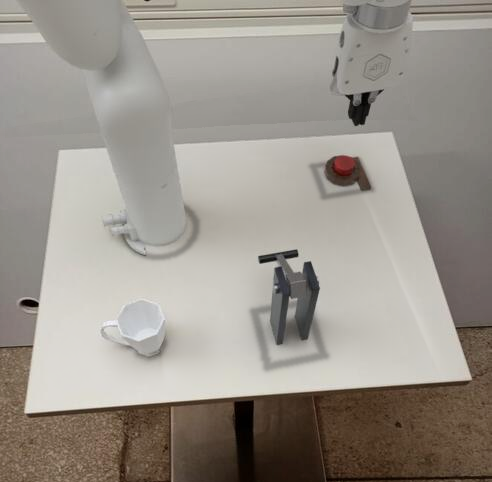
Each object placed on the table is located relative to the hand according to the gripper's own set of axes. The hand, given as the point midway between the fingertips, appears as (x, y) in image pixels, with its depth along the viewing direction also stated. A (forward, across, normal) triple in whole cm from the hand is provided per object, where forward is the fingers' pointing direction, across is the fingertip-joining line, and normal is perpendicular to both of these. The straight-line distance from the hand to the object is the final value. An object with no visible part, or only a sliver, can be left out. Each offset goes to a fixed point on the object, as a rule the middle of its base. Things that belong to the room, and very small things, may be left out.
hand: (356, 119), depth 83 cm
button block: (+13, -1, 0) cm, 13 cm away
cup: (+12, -42, -27) cm, 51 cm away
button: (+11, -1, 0) cm, 11 cm away
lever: (+2, -18, -27) cm, 32 cm away
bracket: (+13, -19, -30) cm, 38 cm away
